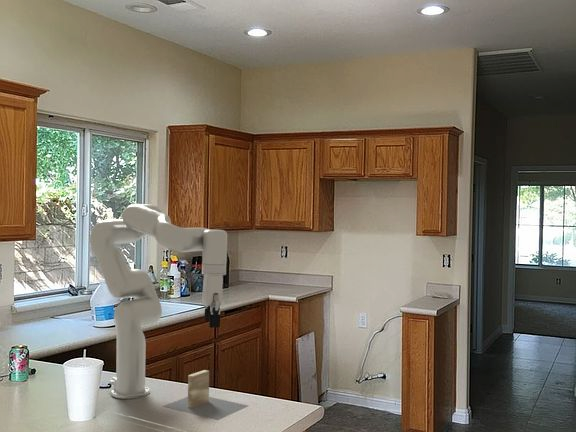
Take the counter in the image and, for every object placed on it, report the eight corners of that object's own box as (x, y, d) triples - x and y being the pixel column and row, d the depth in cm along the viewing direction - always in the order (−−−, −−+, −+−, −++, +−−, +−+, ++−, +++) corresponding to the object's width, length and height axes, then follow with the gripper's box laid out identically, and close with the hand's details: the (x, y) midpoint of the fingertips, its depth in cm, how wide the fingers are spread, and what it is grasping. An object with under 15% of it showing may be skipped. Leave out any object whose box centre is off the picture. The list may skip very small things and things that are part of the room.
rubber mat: (162, 407, 199) (162, 406, 198) (195, 394, 212) (195, 393, 212) (217, 421, 187) (217, 419, 187) (248, 406, 201) (248, 405, 201)
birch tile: (187, 406, 198) (187, 375, 198) (203, 400, 205) (203, 369, 205) (192, 408, 197) (193, 376, 197) (208, 401, 204) (209, 370, 204)
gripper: (198, 265, 203) (196, 318, 203) (206, 272, 186) (204, 330, 187) (221, 266, 205) (219, 318, 205) (231, 273, 188) (228, 329, 189)
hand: (211, 324), depth 196 cm, fingers open, 9 cm apart
